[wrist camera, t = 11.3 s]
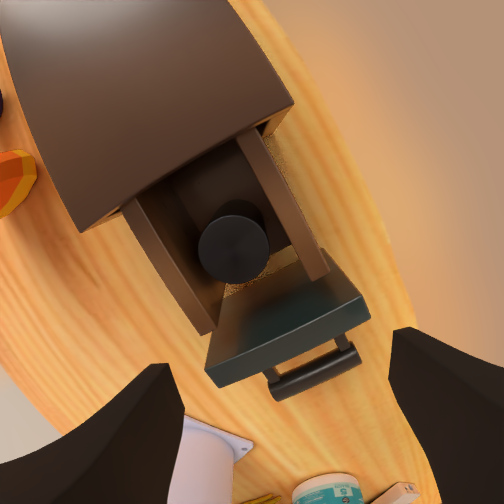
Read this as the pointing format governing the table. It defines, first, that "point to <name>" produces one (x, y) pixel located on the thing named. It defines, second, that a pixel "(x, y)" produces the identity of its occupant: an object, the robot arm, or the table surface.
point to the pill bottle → (328, 490)
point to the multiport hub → (399, 494)
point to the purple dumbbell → (1, 103)
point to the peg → (234, 243)
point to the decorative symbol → (268, 503)
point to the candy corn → (15, 179)
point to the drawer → (261, 292)
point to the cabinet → (133, 91)
